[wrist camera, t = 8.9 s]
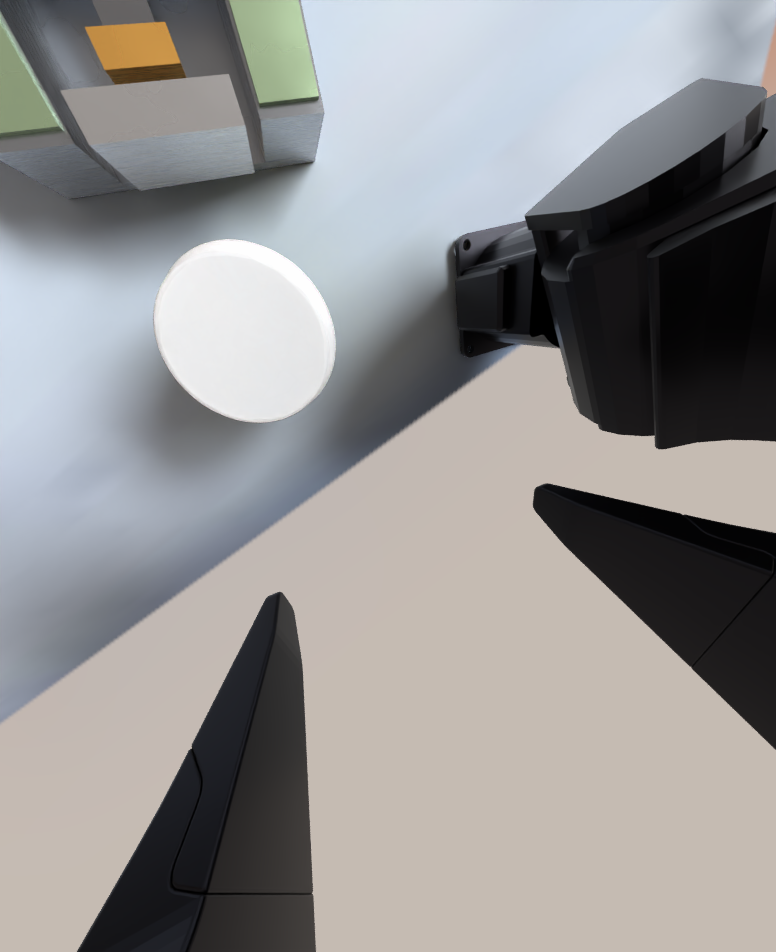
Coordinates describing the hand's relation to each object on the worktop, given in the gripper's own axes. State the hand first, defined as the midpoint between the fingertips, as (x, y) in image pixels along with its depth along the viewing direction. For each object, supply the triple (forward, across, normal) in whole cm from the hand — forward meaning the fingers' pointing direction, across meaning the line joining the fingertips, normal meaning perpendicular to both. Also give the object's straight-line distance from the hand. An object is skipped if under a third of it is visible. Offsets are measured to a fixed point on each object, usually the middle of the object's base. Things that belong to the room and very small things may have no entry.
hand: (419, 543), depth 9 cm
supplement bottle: (+12, +3, -6) cm, 14 cm away
